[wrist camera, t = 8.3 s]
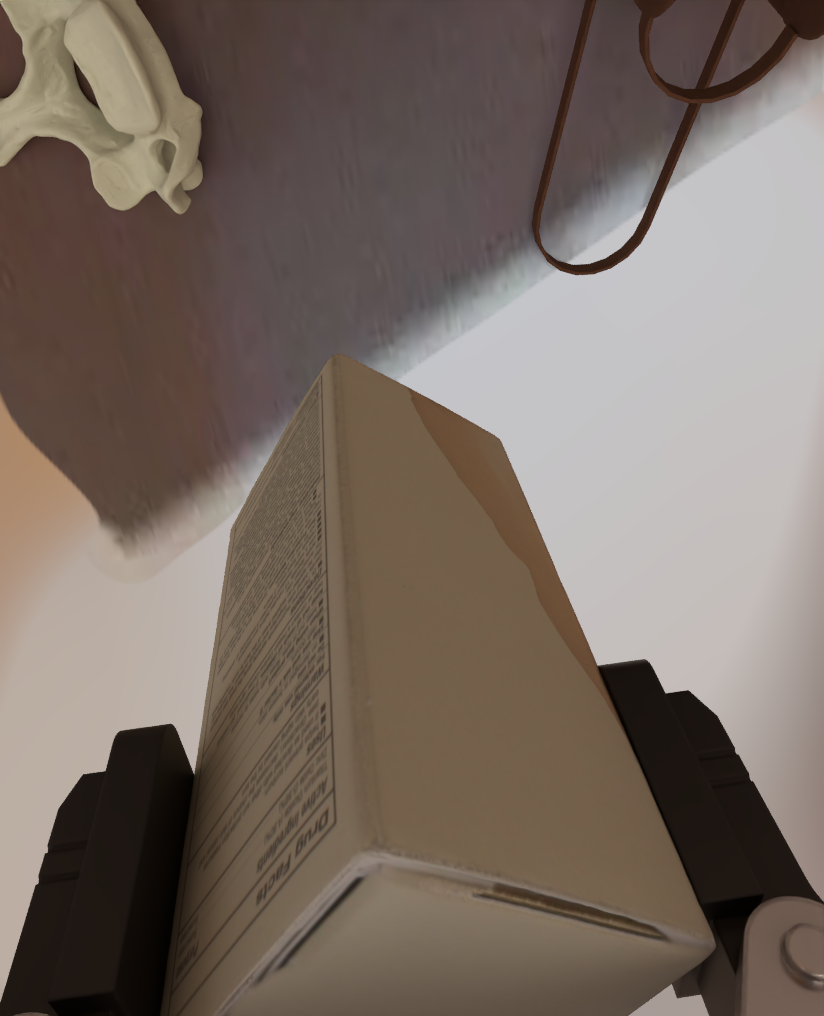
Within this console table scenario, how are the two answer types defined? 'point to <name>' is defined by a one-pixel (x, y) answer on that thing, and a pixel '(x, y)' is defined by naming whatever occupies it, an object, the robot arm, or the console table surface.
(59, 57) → the bone
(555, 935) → the box
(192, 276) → the console table surface
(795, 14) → the brown looped piece
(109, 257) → the console table surface
